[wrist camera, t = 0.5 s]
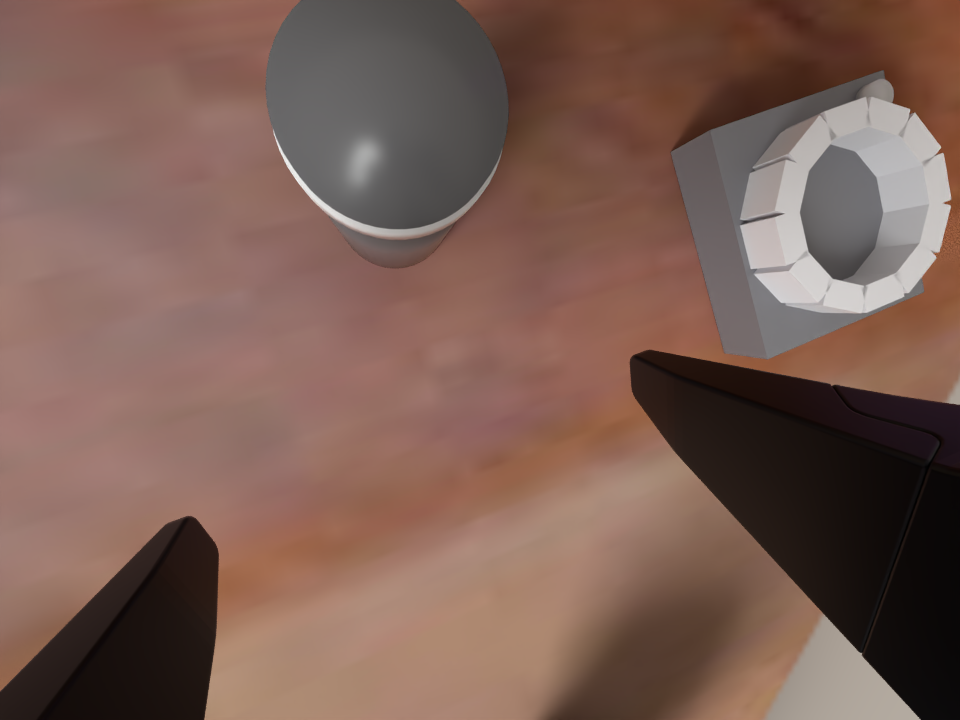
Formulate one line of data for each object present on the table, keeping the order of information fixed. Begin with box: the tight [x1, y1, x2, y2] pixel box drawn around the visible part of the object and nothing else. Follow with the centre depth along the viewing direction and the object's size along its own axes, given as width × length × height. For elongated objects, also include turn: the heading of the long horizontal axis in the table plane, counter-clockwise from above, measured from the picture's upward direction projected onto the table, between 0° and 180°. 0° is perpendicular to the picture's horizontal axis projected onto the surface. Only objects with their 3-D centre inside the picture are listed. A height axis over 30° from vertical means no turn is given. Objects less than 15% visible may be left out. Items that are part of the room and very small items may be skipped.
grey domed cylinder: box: [266, 0, 509, 268], centre depth 16 cm, size 5×5×12 cm
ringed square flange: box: [671, 70, 951, 359], centre depth 23 cm, size 11×10×5 cm
